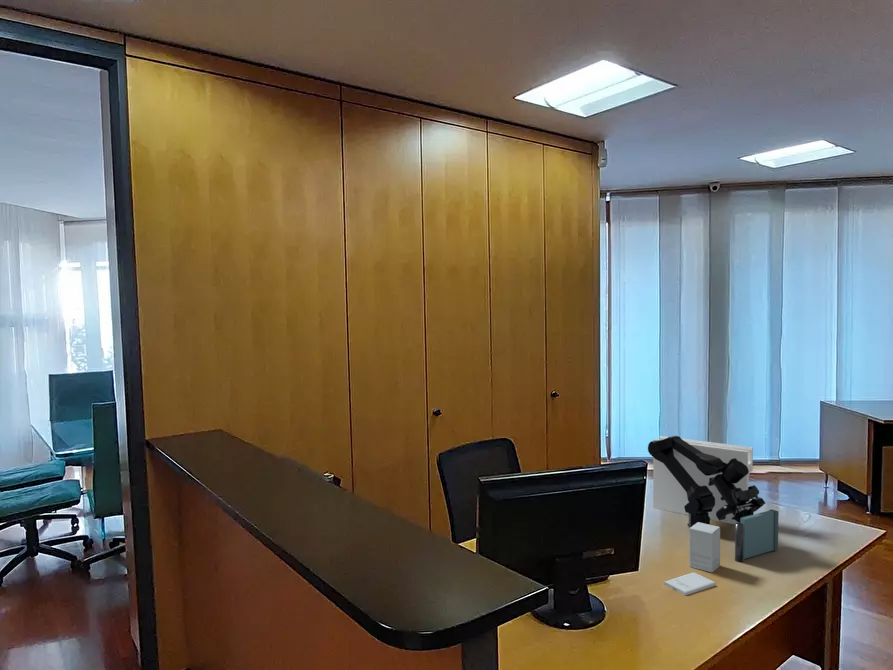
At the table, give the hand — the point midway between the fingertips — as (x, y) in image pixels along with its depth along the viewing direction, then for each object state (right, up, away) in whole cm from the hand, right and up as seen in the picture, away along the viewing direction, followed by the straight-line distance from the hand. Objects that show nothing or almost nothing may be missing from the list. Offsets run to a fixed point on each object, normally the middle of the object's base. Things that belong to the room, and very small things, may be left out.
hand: (756, 531), depth 212 cm
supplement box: (-21, -8, -10) cm, 25 cm away
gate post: (-9, -7, -7) cm, 13 cm away
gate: (0, -6, -2) cm, 7 cm away
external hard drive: (-31, -10, -23) cm, 40 cm away
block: (-4, -5, +37) cm, 37 cm away
